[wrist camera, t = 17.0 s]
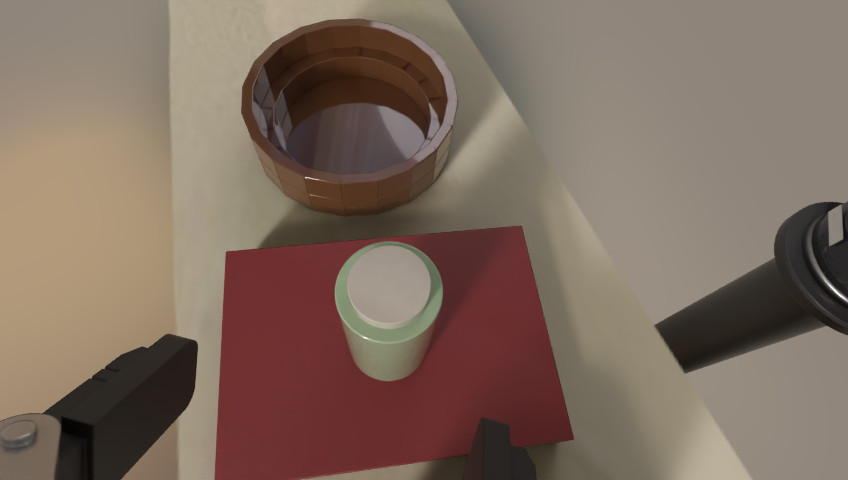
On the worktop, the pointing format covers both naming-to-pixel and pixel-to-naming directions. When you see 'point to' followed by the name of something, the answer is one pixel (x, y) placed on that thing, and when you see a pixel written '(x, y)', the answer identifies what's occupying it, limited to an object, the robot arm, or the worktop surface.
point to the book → (363, 395)
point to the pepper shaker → (388, 308)
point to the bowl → (350, 115)
